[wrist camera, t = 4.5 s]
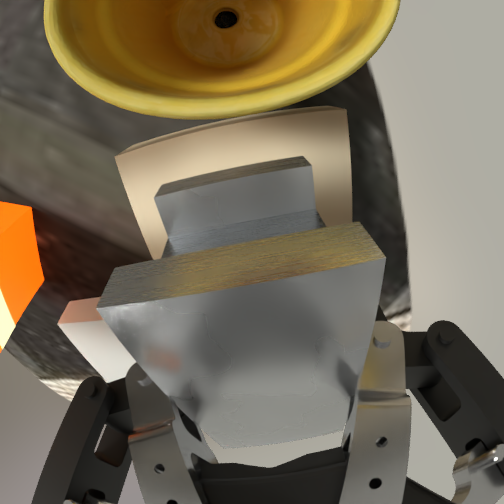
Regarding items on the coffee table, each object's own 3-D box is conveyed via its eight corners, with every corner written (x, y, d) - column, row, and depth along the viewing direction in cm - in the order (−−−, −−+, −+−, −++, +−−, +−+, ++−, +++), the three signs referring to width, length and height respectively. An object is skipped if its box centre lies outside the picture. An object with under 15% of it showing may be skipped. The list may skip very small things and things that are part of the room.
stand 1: (69, 301, 21) (57, 323, 19) (182, 283, 21) (177, 311, 18) (125, 373, 28) (120, 394, 26) (221, 368, 27) (221, 392, 25)
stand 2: (133, 145, 15) (114, 156, 12) (327, 105, 14) (346, 109, 12) (186, 293, 21) (182, 321, 19) (337, 266, 21) (349, 291, 18)
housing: (161, 184, 9) (95, 308, 4) (302, 155, 9) (386, 257, 4) (222, 342, 14) (223, 448, 9) (314, 326, 14) (342, 430, 9)
